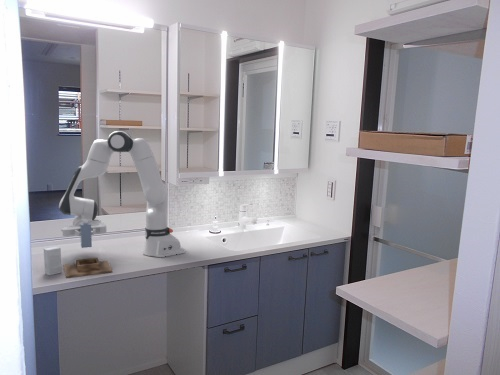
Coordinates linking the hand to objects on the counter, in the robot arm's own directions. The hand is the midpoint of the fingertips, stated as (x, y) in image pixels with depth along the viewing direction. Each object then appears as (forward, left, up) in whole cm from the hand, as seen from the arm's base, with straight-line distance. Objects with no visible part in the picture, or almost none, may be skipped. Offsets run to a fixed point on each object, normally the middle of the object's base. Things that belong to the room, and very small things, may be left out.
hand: (86, 233), depth 198 cm
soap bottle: (0, -1, -6) cm, 7 cm away
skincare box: (+15, +3, -17) cm, 23 cm away
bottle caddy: (0, +4, -17) cm, 17 cm away
